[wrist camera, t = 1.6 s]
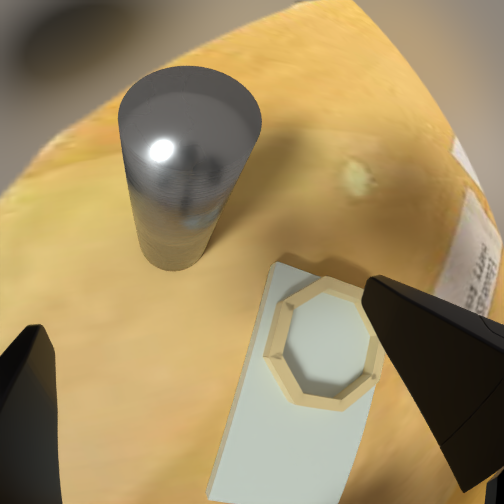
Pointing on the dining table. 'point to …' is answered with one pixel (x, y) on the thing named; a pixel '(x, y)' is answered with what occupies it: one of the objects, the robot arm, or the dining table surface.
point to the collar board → (299, 394)
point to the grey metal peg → (184, 157)
